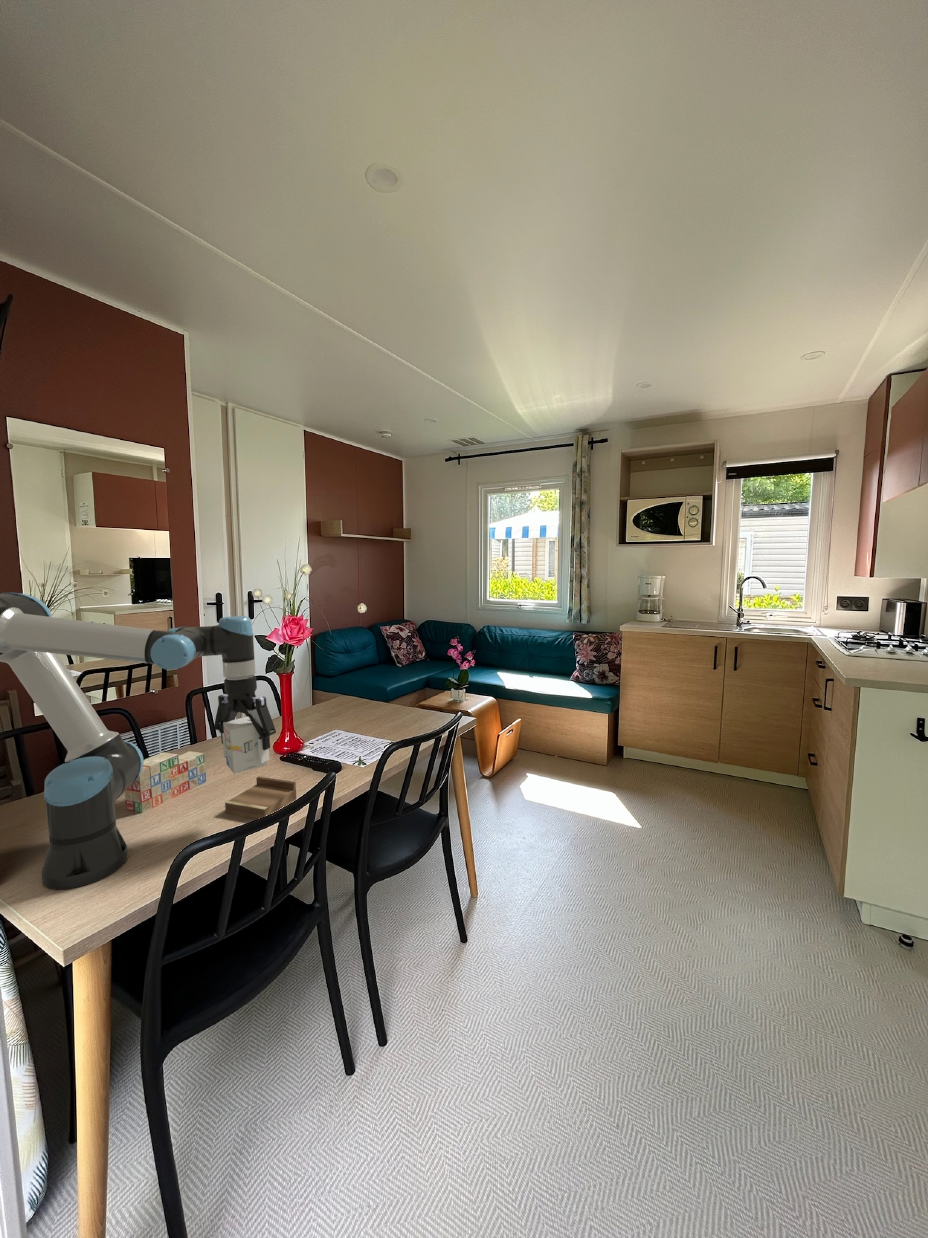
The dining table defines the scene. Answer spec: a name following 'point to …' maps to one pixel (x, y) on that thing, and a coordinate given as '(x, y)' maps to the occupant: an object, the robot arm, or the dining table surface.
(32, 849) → the dining table surface
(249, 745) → the ink box
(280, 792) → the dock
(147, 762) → the stack of blocks
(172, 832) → the dining table surface
